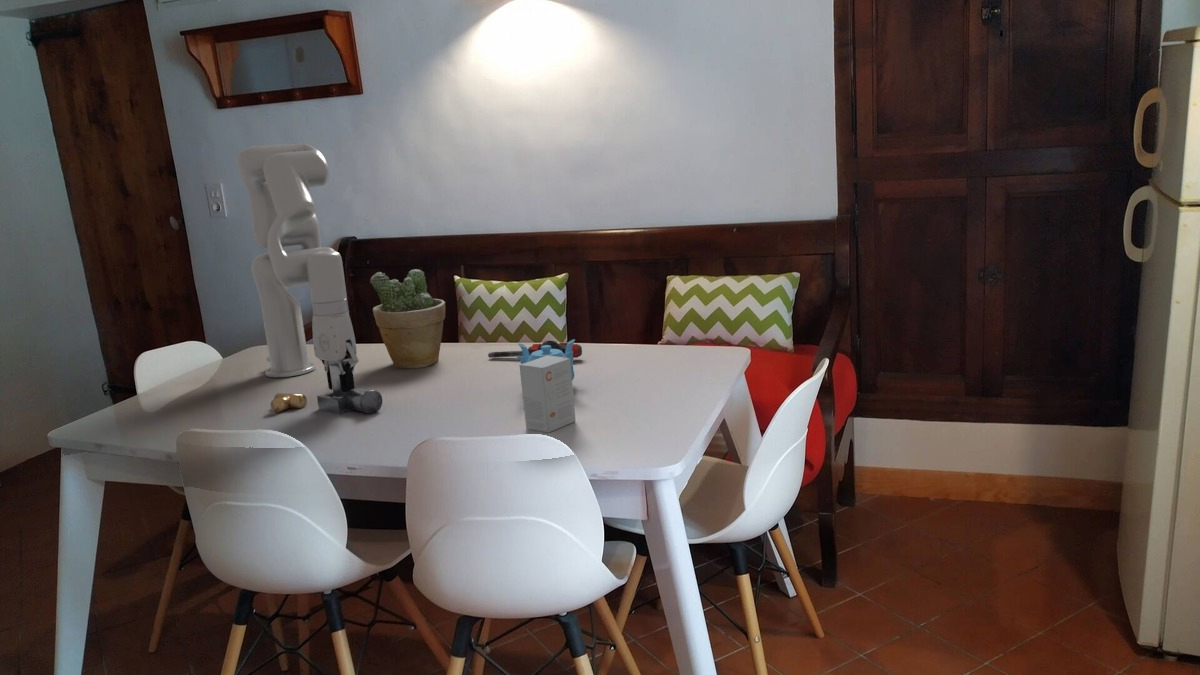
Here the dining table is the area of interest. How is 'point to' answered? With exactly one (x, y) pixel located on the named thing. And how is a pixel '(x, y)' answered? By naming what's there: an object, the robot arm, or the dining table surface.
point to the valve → (536, 347)
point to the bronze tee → (287, 401)
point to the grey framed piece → (351, 402)
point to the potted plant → (409, 319)
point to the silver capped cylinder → (337, 380)
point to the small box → (547, 393)
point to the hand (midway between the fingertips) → (341, 388)
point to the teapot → (547, 354)
